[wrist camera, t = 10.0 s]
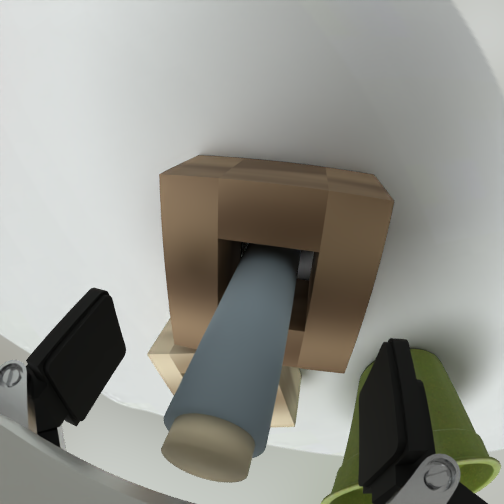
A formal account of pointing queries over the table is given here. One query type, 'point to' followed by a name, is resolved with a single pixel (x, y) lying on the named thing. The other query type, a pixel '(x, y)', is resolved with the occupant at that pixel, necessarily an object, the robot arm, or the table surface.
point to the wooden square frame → (275, 234)
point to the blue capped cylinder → (235, 371)
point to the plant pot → (444, 432)
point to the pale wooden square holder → (179, 357)
